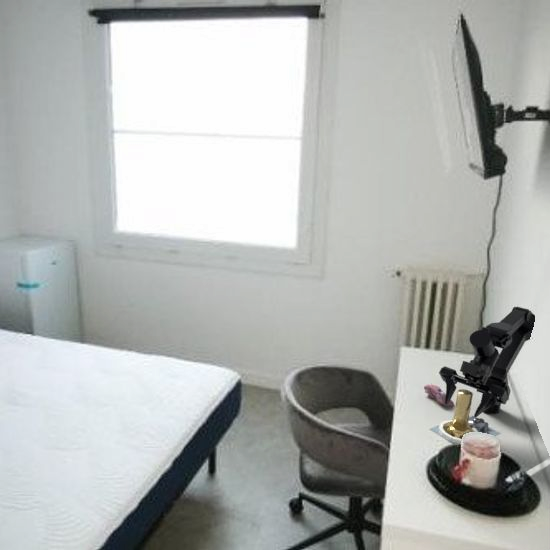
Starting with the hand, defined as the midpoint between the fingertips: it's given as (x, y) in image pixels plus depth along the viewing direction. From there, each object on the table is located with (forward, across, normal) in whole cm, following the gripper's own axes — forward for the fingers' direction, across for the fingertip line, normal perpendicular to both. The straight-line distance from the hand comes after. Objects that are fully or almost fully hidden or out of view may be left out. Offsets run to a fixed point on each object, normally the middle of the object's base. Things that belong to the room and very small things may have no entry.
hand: (460, 410), depth 143 cm
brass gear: (+5, 0, +7) cm, 8 cm away
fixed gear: (-1, +2, +12) cm, 12 cm away
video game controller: (-5, -14, +18) cm, 23 cm away
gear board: (+3, +1, +10) cm, 10 cm away
